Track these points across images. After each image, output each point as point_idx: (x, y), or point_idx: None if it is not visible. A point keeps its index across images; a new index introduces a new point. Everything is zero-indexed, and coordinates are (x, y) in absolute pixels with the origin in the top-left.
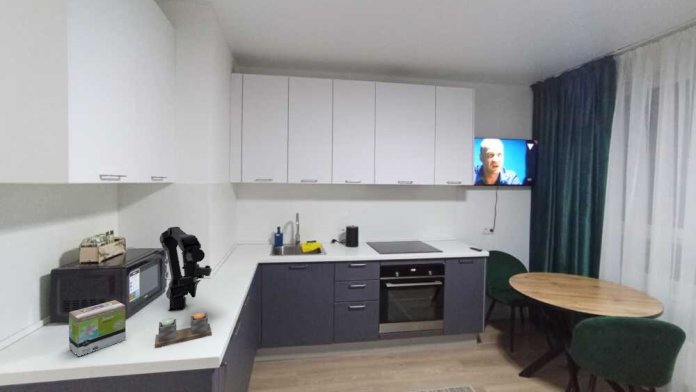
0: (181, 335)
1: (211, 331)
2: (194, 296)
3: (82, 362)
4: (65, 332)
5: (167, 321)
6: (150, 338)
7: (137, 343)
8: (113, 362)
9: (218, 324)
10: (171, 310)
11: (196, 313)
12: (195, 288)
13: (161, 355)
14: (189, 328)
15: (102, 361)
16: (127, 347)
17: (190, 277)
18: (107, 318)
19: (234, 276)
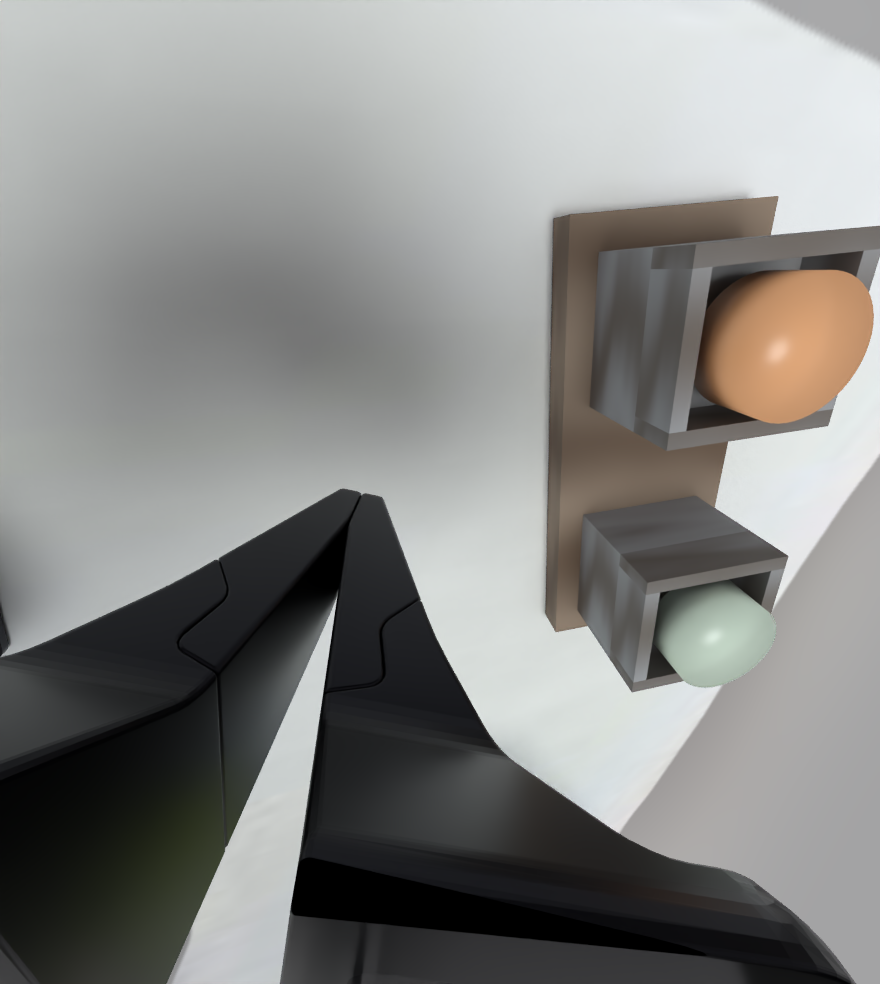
0: (674, 467)
1: (776, 196)
2: (386, 509)
3: (616, 804)
4: (266, 967)
5: (750, 644)
6: (528, 640)
7: (557, 683)
8: (695, 712)
9: (546, 96)
10: (2, 631)
11: (750, 389)
12: (359, 615)
13: (786, 537)
14: (581, 419)
15: (656, 750)
16: (578, 710)
17: None
18: None
19: None
